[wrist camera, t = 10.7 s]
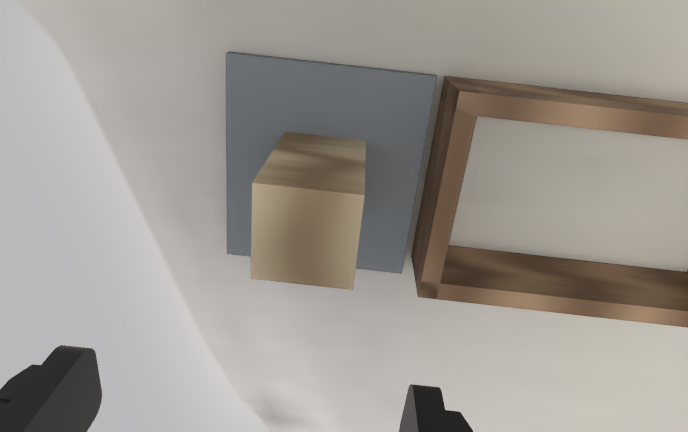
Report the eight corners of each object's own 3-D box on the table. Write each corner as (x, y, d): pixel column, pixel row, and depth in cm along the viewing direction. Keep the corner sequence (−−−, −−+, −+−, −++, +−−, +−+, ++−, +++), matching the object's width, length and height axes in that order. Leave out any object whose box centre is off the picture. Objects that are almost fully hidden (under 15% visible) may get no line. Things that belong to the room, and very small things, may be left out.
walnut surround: (411, 255, 29) (418, 297, 25) (444, 76, 25) (459, 90, 21) (696, 287, 29) (749, 334, 25) (783, 113, 25) (864, 136, 21)
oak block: (281, 205, 28) (250, 278, 21) (284, 131, 26) (252, 182, 19) (356, 213, 28) (352, 289, 21) (366, 140, 26) (364, 195, 19)
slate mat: (229, 249, 30) (227, 253, 29) (229, 51, 25) (225, 53, 24) (400, 268, 30) (401, 273, 29) (435, 74, 25) (436, 76, 24)
